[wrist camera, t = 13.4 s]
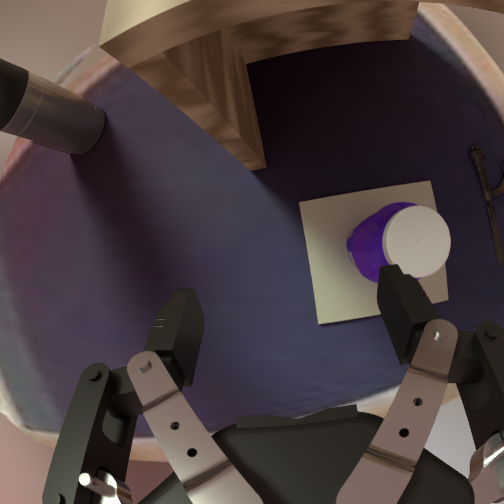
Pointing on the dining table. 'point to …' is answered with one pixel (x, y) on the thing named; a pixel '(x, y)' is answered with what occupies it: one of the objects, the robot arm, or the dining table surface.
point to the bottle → (400, 241)
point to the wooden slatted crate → (240, 49)
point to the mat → (336, 254)
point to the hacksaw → (489, 197)
